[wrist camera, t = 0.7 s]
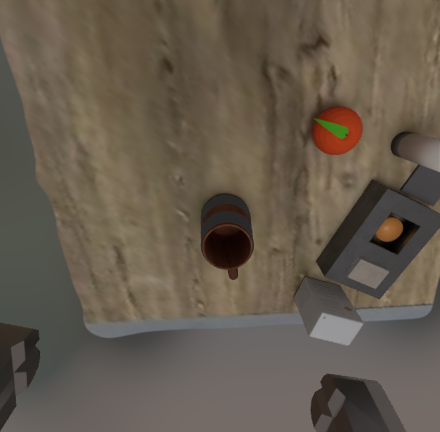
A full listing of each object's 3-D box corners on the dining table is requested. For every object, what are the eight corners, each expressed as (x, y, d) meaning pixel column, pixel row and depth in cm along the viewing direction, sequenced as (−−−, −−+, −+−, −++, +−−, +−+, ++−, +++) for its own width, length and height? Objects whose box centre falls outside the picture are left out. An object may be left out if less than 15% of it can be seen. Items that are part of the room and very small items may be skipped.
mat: (427, 153, 49) (428, 153, 48) (459, 170, 50) (461, 171, 50) (400, 189, 51) (401, 190, 51) (431, 205, 52) (433, 206, 52)
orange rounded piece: (382, 211, 51) (387, 214, 49) (403, 220, 51) (408, 224, 50) (367, 232, 52) (371, 235, 51) (387, 241, 53) (392, 245, 52)
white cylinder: (401, 127, 47) (457, 139, 36) (421, 138, 48) (482, 153, 37) (385, 150, 48) (435, 168, 37) (405, 160, 49) (459, 181, 38)
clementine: (293, 136, 48) (305, 144, 41) (316, 94, 45) (332, 95, 39) (334, 157, 49) (352, 167, 42) (359, 117, 46) (382, 121, 40)
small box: (293, 297, 60) (307, 336, 51) (304, 275, 58) (321, 312, 49) (328, 306, 61) (349, 347, 52) (340, 285, 59) (364, 323, 50)
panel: (372, 179, 50) (391, 190, 45) (427, 206, 53) (452, 220, 47) (315, 261, 57) (326, 280, 51) (367, 282, 59) (382, 302, 53)
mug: (209, 255, 56) (207, 294, 46) (197, 197, 52) (191, 225, 41) (254, 248, 56) (263, 287, 45) (246, 189, 51) (253, 216, 40)
